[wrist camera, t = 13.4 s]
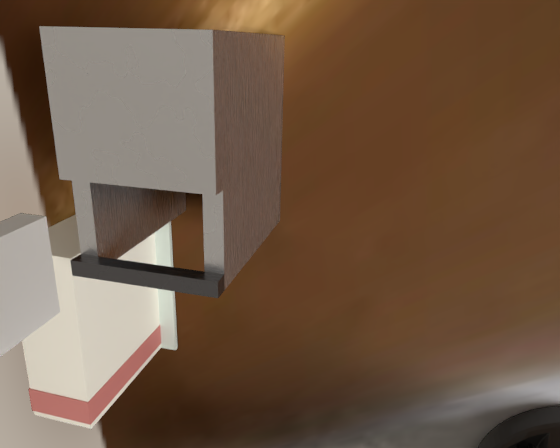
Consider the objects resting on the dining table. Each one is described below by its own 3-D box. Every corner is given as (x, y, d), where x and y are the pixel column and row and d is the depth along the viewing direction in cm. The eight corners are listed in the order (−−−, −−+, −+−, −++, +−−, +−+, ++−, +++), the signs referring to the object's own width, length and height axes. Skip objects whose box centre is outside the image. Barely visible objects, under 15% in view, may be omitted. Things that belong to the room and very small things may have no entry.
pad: (177, 347, 47) (175, 350, 47) (103, 334, 49) (101, 336, 48) (170, 208, 42) (167, 209, 42) (88, 199, 44) (85, 200, 44)
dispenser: (164, 32, 37) (39, 26, 25) (284, 35, 35) (212, 29, 23) (173, 208, 42) (72, 275, 30) (279, 220, 40) (218, 298, 28)
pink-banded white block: (161, 347, 47) (91, 430, 37) (113, 338, 48) (33, 415, 38) (153, 208, 42) (70, 259, 32) (101, 201, 43) (4, 248, 33)
